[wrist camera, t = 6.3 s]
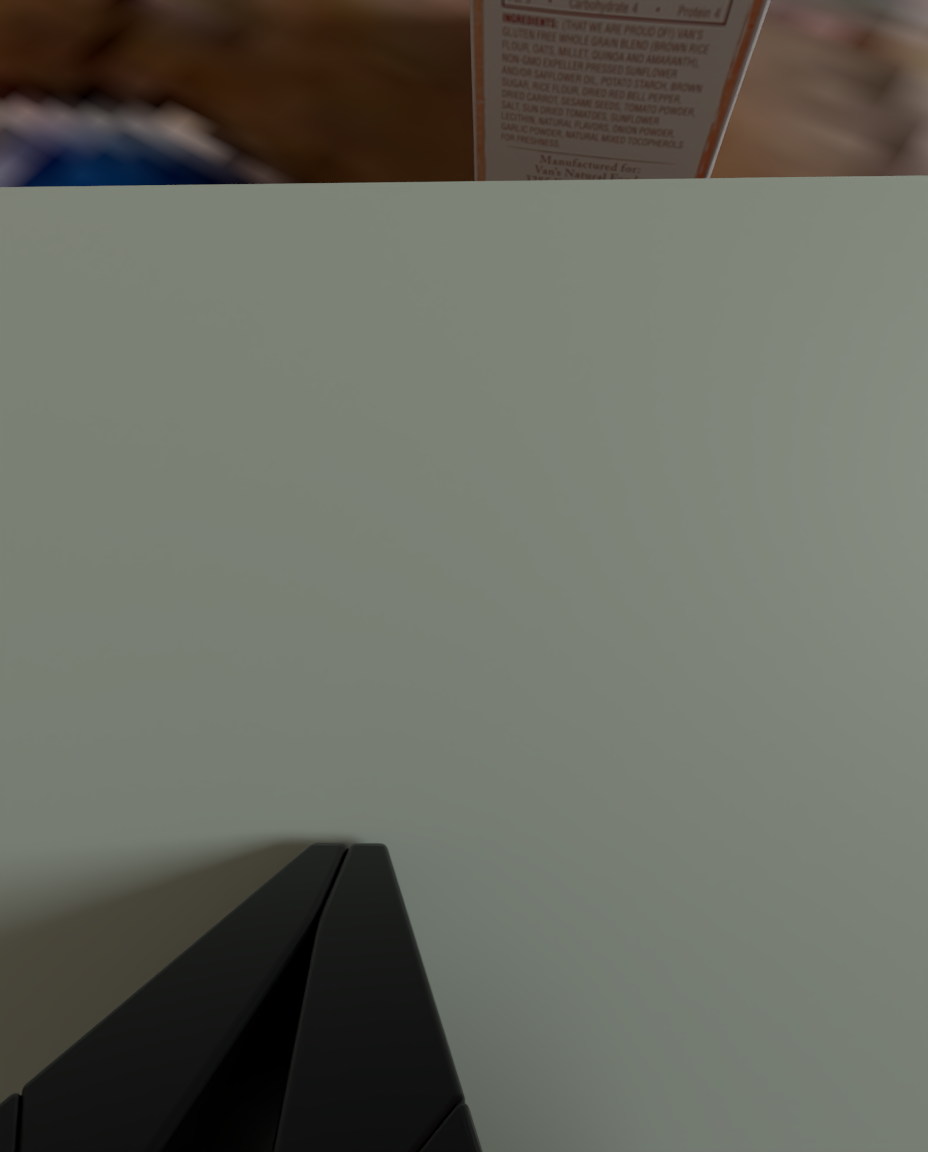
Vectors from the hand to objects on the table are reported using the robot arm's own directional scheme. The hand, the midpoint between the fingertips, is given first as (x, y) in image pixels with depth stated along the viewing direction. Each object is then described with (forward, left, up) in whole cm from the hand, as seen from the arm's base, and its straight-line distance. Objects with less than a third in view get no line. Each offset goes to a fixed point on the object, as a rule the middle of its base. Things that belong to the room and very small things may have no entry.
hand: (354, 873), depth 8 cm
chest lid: (+2, +1, -1) cm, 2 cm away
